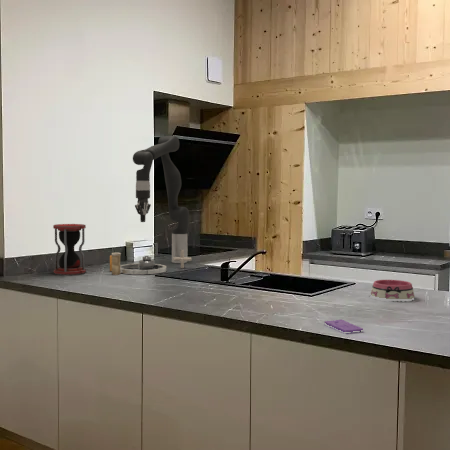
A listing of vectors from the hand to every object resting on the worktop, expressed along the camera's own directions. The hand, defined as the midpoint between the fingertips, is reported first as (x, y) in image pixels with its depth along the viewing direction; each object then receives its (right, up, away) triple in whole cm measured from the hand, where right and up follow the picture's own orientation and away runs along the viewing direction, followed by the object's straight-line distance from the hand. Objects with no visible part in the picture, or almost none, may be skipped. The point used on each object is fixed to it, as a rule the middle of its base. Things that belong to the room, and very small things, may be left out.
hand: (142, 222), depth 305 cm
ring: (-3, -26, +1) cm, 26 cm away
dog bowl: (+114, -33, -63) cm, 135 cm away
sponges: (+83, -36, -116) cm, 147 cm away
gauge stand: (-12, -27, -11) cm, 32 cm away
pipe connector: (+20, -26, +14) cm, 36 cm away
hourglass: (-37, -27, -8) cm, 46 cm away
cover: (+1, -26, +6) cm, 27 cm away
